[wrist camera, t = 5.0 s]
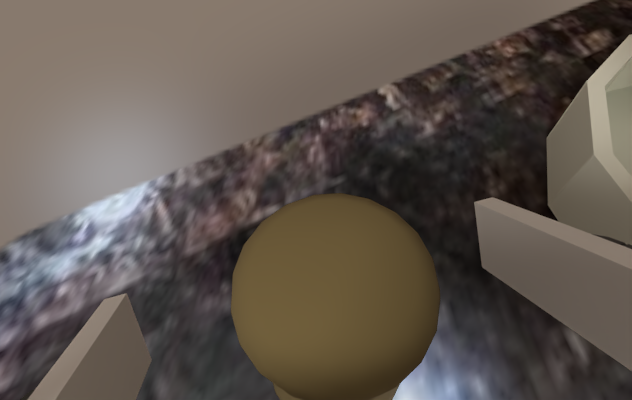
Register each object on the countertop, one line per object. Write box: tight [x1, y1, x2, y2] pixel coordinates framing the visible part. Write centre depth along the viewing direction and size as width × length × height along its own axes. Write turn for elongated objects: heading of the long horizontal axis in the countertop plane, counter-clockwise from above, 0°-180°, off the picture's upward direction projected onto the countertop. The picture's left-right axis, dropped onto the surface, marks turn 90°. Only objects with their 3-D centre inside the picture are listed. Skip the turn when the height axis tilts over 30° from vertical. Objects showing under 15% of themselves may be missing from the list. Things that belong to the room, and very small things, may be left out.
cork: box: [231, 193, 440, 400], centre depth 13 cm, size 6×6×11 cm
